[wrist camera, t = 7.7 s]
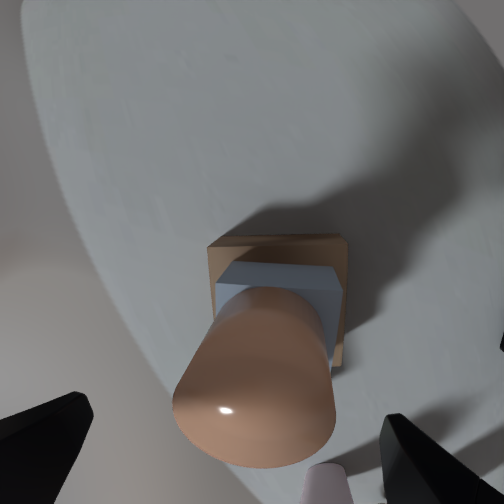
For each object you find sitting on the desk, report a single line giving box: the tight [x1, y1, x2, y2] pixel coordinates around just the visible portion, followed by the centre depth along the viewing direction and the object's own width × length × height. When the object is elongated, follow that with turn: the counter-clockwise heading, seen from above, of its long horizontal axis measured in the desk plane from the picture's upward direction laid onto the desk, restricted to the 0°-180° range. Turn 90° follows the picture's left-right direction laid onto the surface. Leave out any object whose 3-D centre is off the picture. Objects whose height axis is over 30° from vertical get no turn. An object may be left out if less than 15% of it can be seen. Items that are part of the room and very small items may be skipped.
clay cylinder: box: [172, 286, 336, 468], centre depth 10 cm, size 5×5×5 cm
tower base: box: [207, 234, 348, 367], centre depth 17 cm, size 7×7×4 cm
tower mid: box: [215, 261, 343, 373], centre depth 14 cm, size 5×5×4 cm
